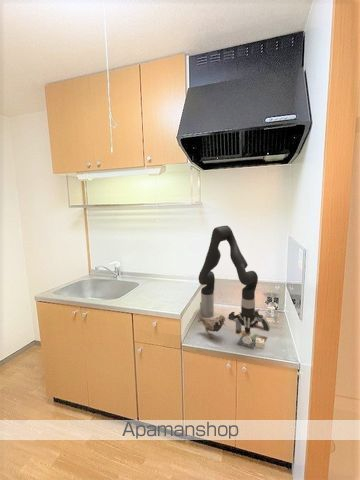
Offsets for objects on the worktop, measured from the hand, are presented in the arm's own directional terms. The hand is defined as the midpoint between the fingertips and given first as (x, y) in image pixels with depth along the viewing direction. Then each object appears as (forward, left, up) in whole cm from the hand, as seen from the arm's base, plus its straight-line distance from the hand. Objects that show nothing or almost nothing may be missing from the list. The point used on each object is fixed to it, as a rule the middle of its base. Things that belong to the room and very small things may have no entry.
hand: (247, 332), depth 142 cm
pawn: (-9, +9, -7) cm, 14 cm away
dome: (0, 0, -7) cm, 7 cm away
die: (+7, +1, -8) cm, 11 cm away
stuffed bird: (-21, -5, -8) cm, 23 cm away
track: (-1, +9, -8) cm, 12 cm away
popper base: (0, 0, -8) cm, 8 cm away
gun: (-6, +22, -8) cm, 24 cm away
